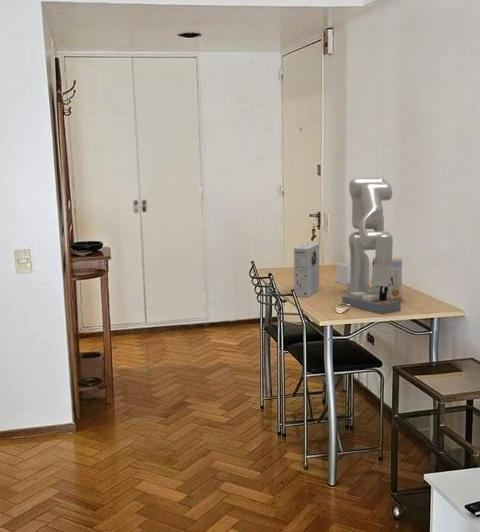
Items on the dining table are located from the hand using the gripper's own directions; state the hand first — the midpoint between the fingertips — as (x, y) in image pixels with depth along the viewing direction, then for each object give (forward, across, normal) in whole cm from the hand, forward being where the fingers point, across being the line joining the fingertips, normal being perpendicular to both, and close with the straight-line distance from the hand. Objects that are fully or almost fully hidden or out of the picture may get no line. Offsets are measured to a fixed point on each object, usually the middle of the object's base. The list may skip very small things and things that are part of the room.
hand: (382, 300), depth 319 cm
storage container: (+6, -56, +40) cm, 69 cm away
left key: (+2, -15, 0) cm, 16 cm away
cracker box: (+5, -12, +16) cm, 21 cm away
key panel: (+5, -7, 0) cm, 9 cm away
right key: (+3, +1, 0) cm, 3 cm away
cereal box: (+6, -52, -1) cm, 53 cm away
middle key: (+2, -7, 0) cm, 8 cm away
